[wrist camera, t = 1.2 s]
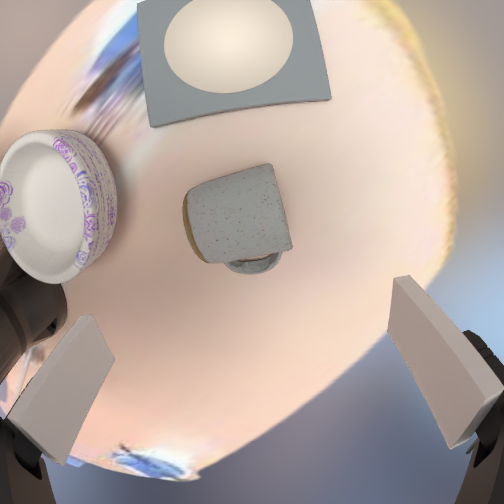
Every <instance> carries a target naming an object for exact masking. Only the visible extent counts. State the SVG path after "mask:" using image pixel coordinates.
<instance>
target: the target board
mask: <svg viewBox="0 0 504 504" xmlns="http://www.w3.org/2000/svg"><path fill="white" fill-rule="evenodd" d="M137 16H138V31H139V43H140V54H141V64H142V73H143V81H144V89H145V96H146V103H147V110H148V117H149V123H150V127H153V128H156V127H160V126H164V125H168V124H172V123H176V122H180V121H184V120H188V119H193V118H197V117H202V116H207V115H212V114H217V113H223V112H228V111H234V110H240V109H247V108H254V107H261V106H269V105H278V104H288V103H300V102H314V101H328V100H330V99H332V97H331V91H330V85H329V80H328V75H327V69H326V64H325V60H324V55H323V50H322V46H321V41H320V37H319V33H318V29H317V25H316V21H315V17H314V13H313V10H312V6H311V2H310V0H146V1H143V2H140V3H137Z"/></svg>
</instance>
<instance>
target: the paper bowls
mask: <svg viewBox="0 0 504 504" xmlns="http://www.w3.org/2000/svg"><path fill="white" fill-rule="evenodd" d="M116 219H117V190H116V184H115V180H114V177H113V174H112V171H111V168H110V166H109V163H108V161H107V160H106V158H105V156H104V155H103V153H102V151H101V150H100V149H99V147H98V146H97V145H96V143H94V142H93V141H92V140H91V139H90V138H88V137H86V136H85V135H83V134H81V133H79V132H76V131H72V130H39V131H33V132H30V133H28V134H25V135H24V136H22V137H21V138H19V139H18V140H17V141H16V142H15V143H14V144H13V145H12V146H11V147H10V149H9V150H8V151H7V153H6V155H5V156H4V158H3V160H2V162H1V165H0V234H1V236H2V239H3V241H4V243H5V245H6V247H7V249H8V251H9V253H10V254H11V256H12V257H13V259H14V260H15V261H16V263H17V264H18V265H19V266H20V267H21V268H22V269H23V270H24V271H25V272H26V273H28V274H29V275H30V276H32V277H33V278H35V279H37V280H39V281H42V282H45V283H50V284H59V283H64V282H67V281H69V280H71V279H73V278H75V277H76V276H78V275H79V274H80V273H81V272H82V271H83V270H84V269H86V268H87V267H88V266H89V265H91V264H92V263H93V262H94V261H95V260H96V259H97V258H98V257H99V256H100V255H101V254H102V253H103V252H104V250H105V249H106V247H107V246H108V244H109V242H110V240H111V238H112V235H113V232H114V228H115V224H116Z"/></svg>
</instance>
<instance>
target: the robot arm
mask: <svg viewBox="0 0 504 504" xmlns="http://www.w3.org/2000/svg"><path fill="white" fill-rule="evenodd" d="M66 314H67V308H66V301H65V296H64V293H63V290H62V287H61V285H60V283H59V284H50V283H45V282H42V281H39V280H37V279H35V278H33V277H32V276H30V275H29V274H28V273H26V272H25V271H24V270H23V269H22V268H21V267H20V266H19V265H18V264H17V263H16V261H15V260H14V259H13V257H12V256H11V254H10V253H9V251H8V249H7V247H5V248H4V249H2V250H1V251H0V384H1V383H2V382H3V380H4V379H5V377H6V376H7V375H8V373H9V372H10V370H11V369H12V368H13V366H14V365H15V364H16V362H17V361H18V360H19V359H20V357H21V356H22V355H23V353H24V352H25V351H26V350H27V349H28V348H30V347H32V346H34V345H36V344H38V343H40V342H42V341H44V340H46V339H48V338H50V337H52V336H53V335H55V334H56V333H57V331H58V330H59V329H60V328H61V327H62V325H63V324H64V322H65V319H66ZM387 332H388V333H389V335H390V337H391V338H392V340H393V342H394V343H395V345H396V347H397V349H398V350H399V352H400V354H401V355H402V357H403V359H404V361H405V362H406V364H407V366H408V368H409V370H410V371H411V373H412V375H413V377H414V379H415V381H416V383H417V384H418V386H419V388H420V390H421V392H422V394H423V396H424V398H425V400H426V402H427V404H428V406H429V408H430V409H431V412H432V414H433V415H434V418H435V420H436V422H437V424H438V426H439V428H440V430H441V432H442V434H443V436H444V438H445V441H446V443H447V445H448V448H449V450H451V449H453V448H455V447H457V446H458V445H460V444H462V443H464V442H466V441H468V440H469V438H470V437H471V436H472V435H473V433H474V432H476V433H477V435H478V438H477V439H476V440H475V442H474V443H473V444H472V445H471V446H470V447H469V449H468V450H467V452H466V454H469V453H470V452H471V451H472V450H473V452H472V456H471V459H470V463H469V466H468V469H467V472H466V476H465V478H464V481H463V484H462V486H461V489H460V492H459V494H458V497H457V499H456V502H455V504H504V365H503V364H502V363H501V362H500V361H499V359H498V358H497V357H496V356H495V355H493V352H492V351H491V350H490V348H488V347H487V345H486V343H485V342H484V341H483V340H482V339H481V338H480V337H479V336H478V335H476V334H475V333H473V332H471V331H470V330H467V331H464V332H461V331H460V330H459V328H458V327H457V326H456V325H455V324H454V323H453V321H452V320H451V319H450V318H449V317H448V316H447V315H446V314H445V312H444V311H442V309H441V308H440V307H439V306H438V305H437V304H436V303H435V301H434V300H433V299H432V298H431V297H430V296H429V295H428V294H427V293H426V292H425V291H424V290H423V289H422V288H421V287H420V286H419V285H418V284H417V283H416V281H415V280H414V279H413V278H412V277H411V276H410V275H407V276H402V277H397V278H393V290H392V299H391V308H390V316H389V323H388V330H387ZM114 361H115V358H114V356H113V354H112V353H111V351H110V349H109V347H108V345H107V343H106V341H105V339H104V337H103V335H102V333H101V331H100V329H99V327H98V325H97V323H96V321H95V319H94V316H93V315H81V316H80V317H79V318H78V320H77V321H76V322H75V323H74V324H73V326H72V327H71V328H70V329H69V331H68V332H67V333H66V334H65V336H64V337H63V338H62V339H61V341H60V342H59V343H58V345H57V346H56V347H55V348H54V350H53V351H52V352H51V354H50V355H49V356H48V358H47V359H46V360H45V362H44V363H43V365H42V366H41V367H40V369H39V370H38V371H37V373H36V374H35V376H34V377H33V378H32V379H31V380H30V381H29V383H28V384H27V386H26V389H24V390H23V391H22V393H21V395H20V396H19V397H18V399H17V400H16V402H15V403H14V405H13V407H12V408H11V410H10V411H9V413H8V415H7V416H6V418H5V419H4V420H3V419H2V418H1V417H0V504H56V502H55V499H54V495H53V492H52V488H51V485H50V481H49V477H48V473H47V469H46V465H45V462H44V459H43V458H41V457H40V456H41V454H42V453H43V454H44V455H45V456H46V457H48V458H49V459H50V460H51V461H53V462H56V463H58V464H61V465H63V466H64V465H65V463H66V460H67V458H68V456H69V453H70V451H71V449H72V446H73V444H74V442H75V440H76V437H77V435H78V433H79V431H80V429H81V427H82V424H83V422H84V420H85V418H86V416H87V414H88V412H89V410H90V408H91V406H92V404H93V402H94V400H95V398H96V396H97V394H98V392H99V390H100V388H101V386H102V384H103V382H104V380H105V378H106V376H107V374H108V372H109V370H110V368H111V367H112V365H113V363H114ZM473 448H474V449H473Z"/></svg>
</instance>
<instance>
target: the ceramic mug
mask: <svg viewBox="0 0 504 504" xmlns="http://www.w3.org/2000/svg"><path fill="white" fill-rule="evenodd" d="M183 221H184V226H185V230H186V234H187V237H188V240H189V242H190V244H191V246H192V248H193V250H194V252H195V253H196V255H197V256H198V257H199V258H200V259H201V260H203V261H205V262H206V263H225V265H226V266H227V267H228V268H229V269H231V270H232V271H234V272H237V273H241V274H258V273H262V272H265V271H268V270H270V269H272V268H273V267H274V266H275V265H276V264H277V263H278V261H279V260H280V257H281V254H282V252H283V251H288V250H290V249H292V247H293V246H292V242H291V238H290V234H289V230H288V226H287V222H286V217H285V213H284V210H283V206H282V201H281V197H280V193H279V188H278V185H277V181H276V177H275V174H274V169H273V166H272V165H271V164H264V165H261V166H257V167H254V168H250V169H247V170H243V171H240V172H237V173H233V174H230V175H227V176H224V177H221V178H218V179H215V180H211V181H208V182H205V183H202V184H200V185H198V186H196V187H194V188H192V189H191V190H190V191H188V193H187V194H186V195H185V198H184V201H183ZM272 253H273V254H272ZM267 254H272V255H271V256H269V257H267V258H266V259H263V260H257V261H250V262H247V261H246V262H240V261H237V260H239V259H243V258H249V257H255V256H261V255H267Z"/></svg>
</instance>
